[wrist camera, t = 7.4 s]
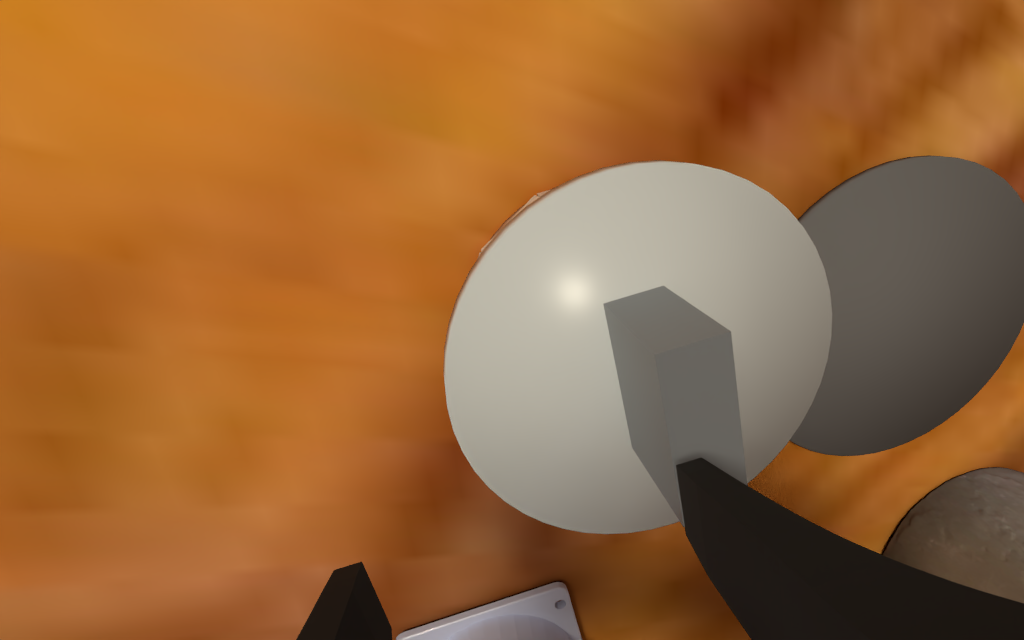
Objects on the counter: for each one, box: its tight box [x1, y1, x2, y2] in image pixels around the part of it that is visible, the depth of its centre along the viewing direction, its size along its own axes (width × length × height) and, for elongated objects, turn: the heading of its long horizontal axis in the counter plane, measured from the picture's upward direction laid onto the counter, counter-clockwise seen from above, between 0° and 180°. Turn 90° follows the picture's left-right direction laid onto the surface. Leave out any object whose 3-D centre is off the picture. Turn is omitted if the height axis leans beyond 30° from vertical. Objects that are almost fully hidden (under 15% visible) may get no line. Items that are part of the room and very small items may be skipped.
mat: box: [790, 156, 1024, 456], centre depth 23 cm, size 13×13×1 cm
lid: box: [444, 160, 832, 534], centre depth 15 cm, size 12×12×4 cm
